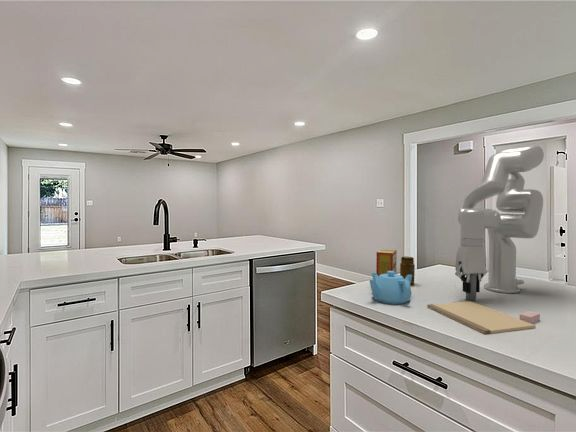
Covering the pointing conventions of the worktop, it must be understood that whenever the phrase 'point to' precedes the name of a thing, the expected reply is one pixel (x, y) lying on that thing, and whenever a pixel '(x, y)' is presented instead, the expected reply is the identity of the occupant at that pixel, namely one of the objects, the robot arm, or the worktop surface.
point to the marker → (472, 288)
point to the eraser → (530, 317)
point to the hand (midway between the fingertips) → (470, 291)
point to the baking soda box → (386, 261)
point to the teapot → (391, 288)
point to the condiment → (408, 268)
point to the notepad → (480, 317)
